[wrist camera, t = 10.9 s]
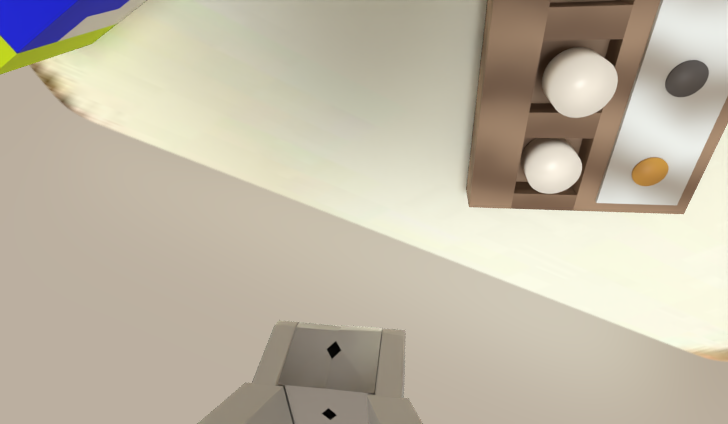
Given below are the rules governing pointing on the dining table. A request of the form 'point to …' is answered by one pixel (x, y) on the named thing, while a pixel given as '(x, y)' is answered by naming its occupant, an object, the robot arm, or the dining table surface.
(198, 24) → the dining table surface
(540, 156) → the button
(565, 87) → the middle button
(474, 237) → the dining table surface
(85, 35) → the puzzle toy
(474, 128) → the console
